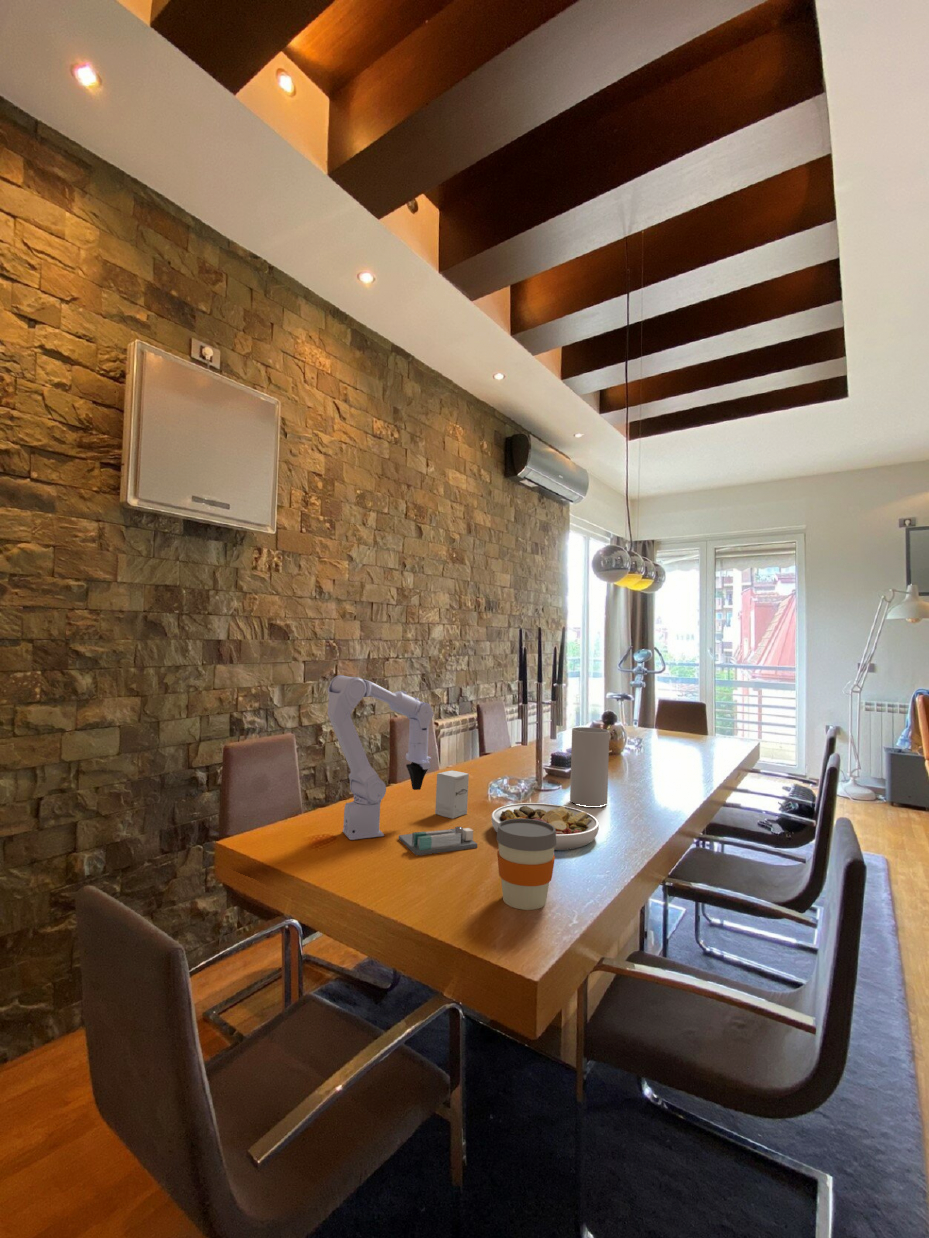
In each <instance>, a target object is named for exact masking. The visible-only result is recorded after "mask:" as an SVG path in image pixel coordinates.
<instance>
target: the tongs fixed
mask: <svg viewBox="0 0 929 1238" xmlns="http://www.w3.org/2000/svg"><path fill="white" fill-rule="evenodd" d="M454 829H455V833H448V834H440V835H432V836H430V835H428V836H419V837H418V840H417V849H418V850H426V849H433V848H441V847H448V846H456V845H461V843H462V839H463V829H464V828H463V826H455V827H454Z"/></svg>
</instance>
